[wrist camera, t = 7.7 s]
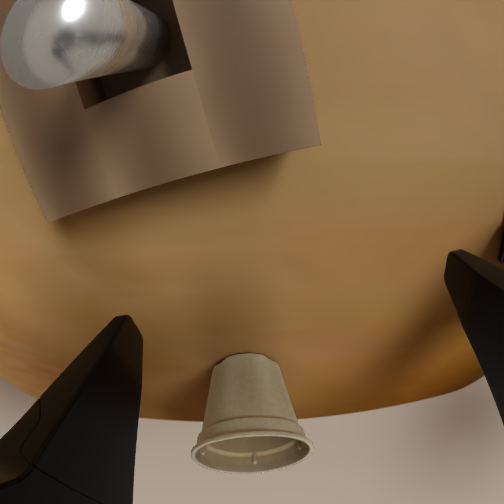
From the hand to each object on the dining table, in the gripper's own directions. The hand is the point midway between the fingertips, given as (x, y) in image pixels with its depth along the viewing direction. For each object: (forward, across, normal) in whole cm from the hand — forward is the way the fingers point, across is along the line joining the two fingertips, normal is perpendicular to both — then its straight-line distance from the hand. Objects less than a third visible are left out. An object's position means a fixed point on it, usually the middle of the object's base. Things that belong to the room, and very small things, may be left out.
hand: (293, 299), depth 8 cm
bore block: (+11, +5, -8) cm, 15 cm away
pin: (+10, +5, -8) cm, 14 cm away
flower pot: (+12, +5, +19) cm, 23 cm away
